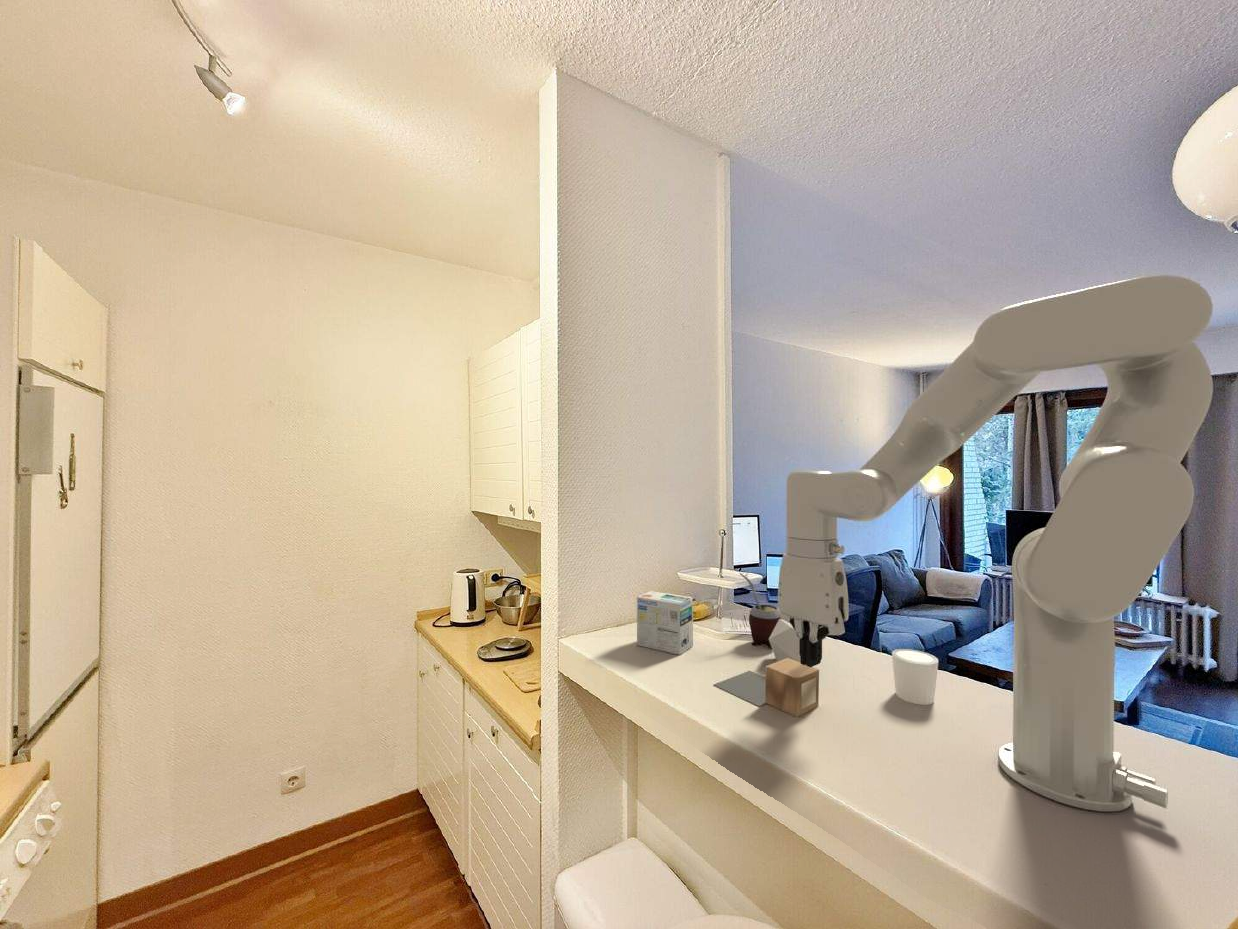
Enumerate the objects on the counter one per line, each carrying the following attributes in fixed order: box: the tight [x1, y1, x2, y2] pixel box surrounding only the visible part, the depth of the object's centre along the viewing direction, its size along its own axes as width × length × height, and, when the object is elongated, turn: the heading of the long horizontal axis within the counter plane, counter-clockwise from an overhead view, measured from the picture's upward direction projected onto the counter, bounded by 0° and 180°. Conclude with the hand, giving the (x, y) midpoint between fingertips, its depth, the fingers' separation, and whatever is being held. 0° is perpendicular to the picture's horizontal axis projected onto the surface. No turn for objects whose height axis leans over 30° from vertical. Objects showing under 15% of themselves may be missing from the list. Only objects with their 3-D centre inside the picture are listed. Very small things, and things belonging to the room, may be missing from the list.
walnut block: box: [765, 658, 820, 718], centre depth 83 cm, size 6×6×6 cm
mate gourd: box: [739, 572, 781, 650], centre depth 111 cm, size 8×8×15 cm
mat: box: [713, 670, 768, 708], centre depth 89 cm, size 10×10×1 cm
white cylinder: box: [891, 648, 939, 706], centre depth 86 cm, size 7×7×7 cm
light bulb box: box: [636, 590, 694, 656], centre depth 109 cm, size 11×7×11 cm, turn 58°
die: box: [769, 619, 800, 662], centre depth 100 cm, size 8×9×10 cm
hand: (810, 663), depth 80 cm, fingers closed
